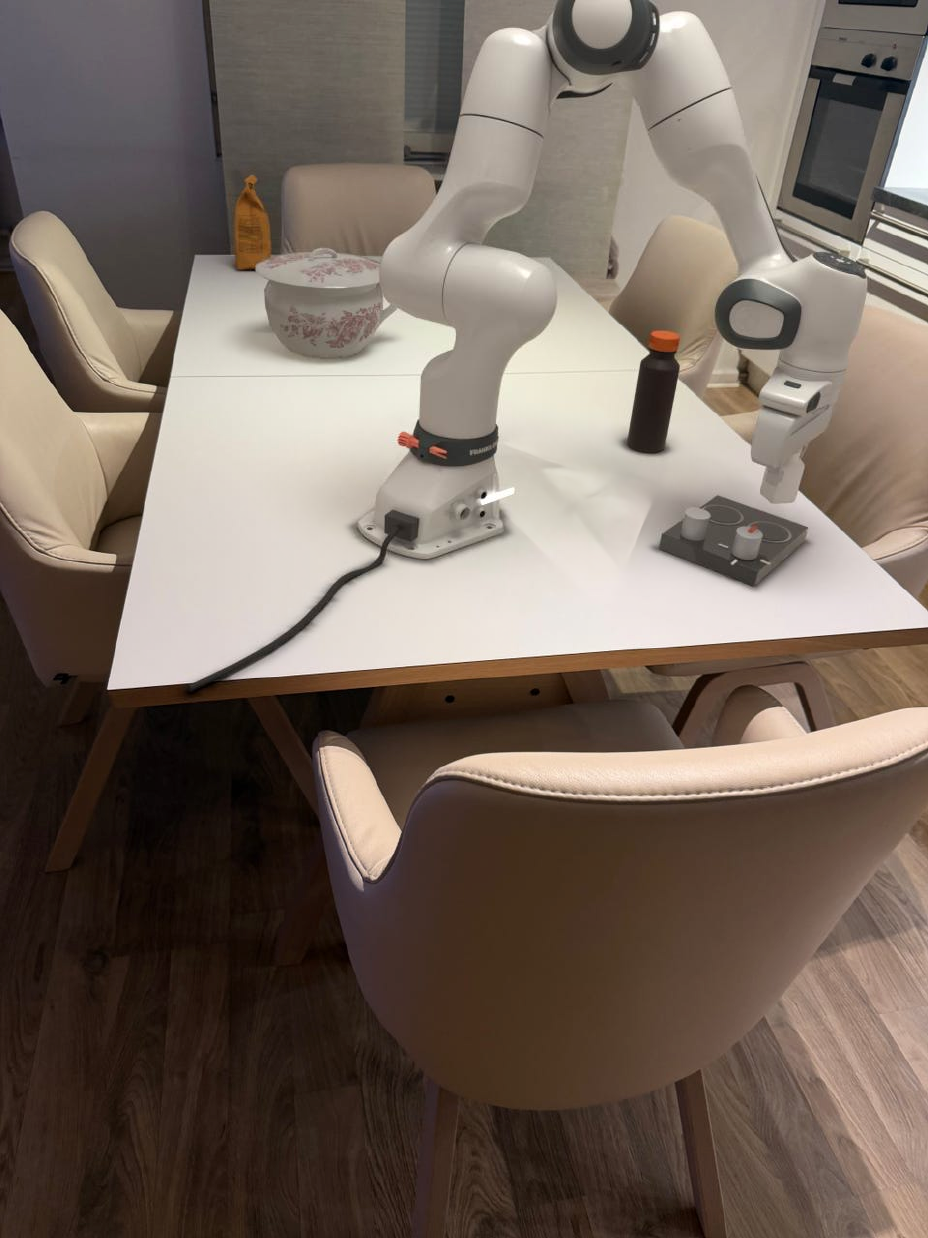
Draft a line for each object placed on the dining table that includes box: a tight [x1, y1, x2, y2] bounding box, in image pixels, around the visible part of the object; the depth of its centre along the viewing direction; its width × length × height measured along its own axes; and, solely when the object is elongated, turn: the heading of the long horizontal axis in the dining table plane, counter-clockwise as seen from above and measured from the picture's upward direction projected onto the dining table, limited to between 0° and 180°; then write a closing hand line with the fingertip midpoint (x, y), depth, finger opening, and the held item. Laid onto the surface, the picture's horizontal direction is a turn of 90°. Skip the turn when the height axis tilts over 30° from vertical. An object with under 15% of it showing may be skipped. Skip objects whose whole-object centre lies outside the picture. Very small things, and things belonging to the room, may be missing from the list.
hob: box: [658, 494, 809, 587], centre depth 141 cm, size 19×15×3 cm
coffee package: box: [233, 174, 272, 271], centre depth 251 cm, size 10×12×22 cm
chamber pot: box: [255, 247, 399, 360], centre depth 198 cm, size 28×28×21 cm
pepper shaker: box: [759, 447, 806, 505], centre depth 135 cm, size 4×4×10 cm
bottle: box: [626, 330, 681, 454], centre depth 165 cm, size 7×7×20 cm
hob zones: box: [681, 505, 791, 543], centre depth 139 cm, size 14×14×4 cm
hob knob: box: [731, 526, 763, 560], centre depth 133 cm, size 4×4×4 cm
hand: (781, 475), depth 136 cm, fingers closed on pepper shaker, 5 cm apart
